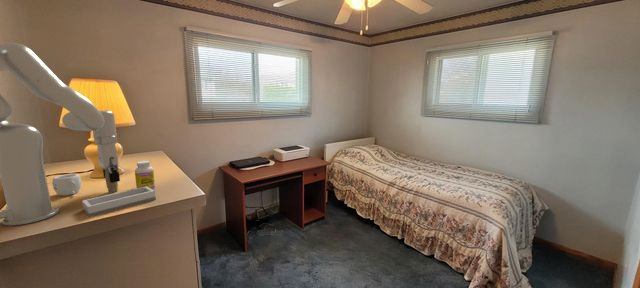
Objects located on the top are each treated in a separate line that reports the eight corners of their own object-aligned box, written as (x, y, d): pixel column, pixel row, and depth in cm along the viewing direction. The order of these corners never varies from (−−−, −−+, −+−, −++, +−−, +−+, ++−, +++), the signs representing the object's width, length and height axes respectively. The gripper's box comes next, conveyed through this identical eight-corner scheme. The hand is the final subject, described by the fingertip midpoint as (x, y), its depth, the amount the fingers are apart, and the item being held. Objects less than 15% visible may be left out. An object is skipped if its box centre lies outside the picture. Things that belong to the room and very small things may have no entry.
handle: (109, 194, 107) (104, 159, 104) (103, 192, 110) (98, 158, 107) (123, 191, 111) (118, 157, 108) (116, 188, 114) (111, 155, 112)
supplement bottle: (140, 194, 107) (136, 164, 105) (134, 191, 111) (131, 162, 109) (158, 190, 112) (154, 161, 110) (152, 187, 116) (148, 159, 114)
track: (89, 216, 86) (87, 207, 85) (83, 209, 92) (81, 200, 91) (155, 199, 101) (154, 190, 101) (147, 194, 107) (146, 186, 107)
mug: (51, 195, 106) (47, 177, 105) (77, 189, 114) (74, 172, 112) (63, 200, 101) (60, 181, 100) (90, 193, 108) (87, 175, 107)
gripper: (89, 139, 109) (95, 178, 112) (99, 143, 99) (106, 186, 101) (111, 137, 115) (116, 174, 118) (123, 141, 104) (128, 181, 107)
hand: (112, 179), depth 110 cm, fingers open, 9 cm apart
